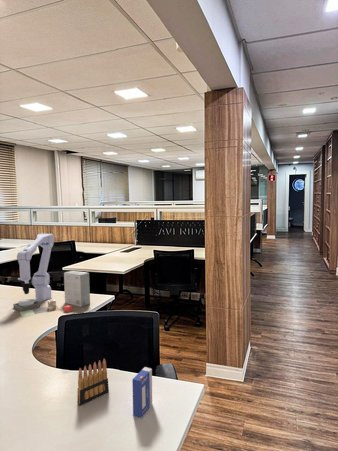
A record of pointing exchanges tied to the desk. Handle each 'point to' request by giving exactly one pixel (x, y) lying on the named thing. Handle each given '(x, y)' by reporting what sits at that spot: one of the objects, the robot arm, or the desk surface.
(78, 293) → the hard drive box
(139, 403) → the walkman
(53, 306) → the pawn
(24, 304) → the dome button
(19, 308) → the button housing
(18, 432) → the desk surface
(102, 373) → the ammunition clip
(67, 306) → the red die
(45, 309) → the game mat
